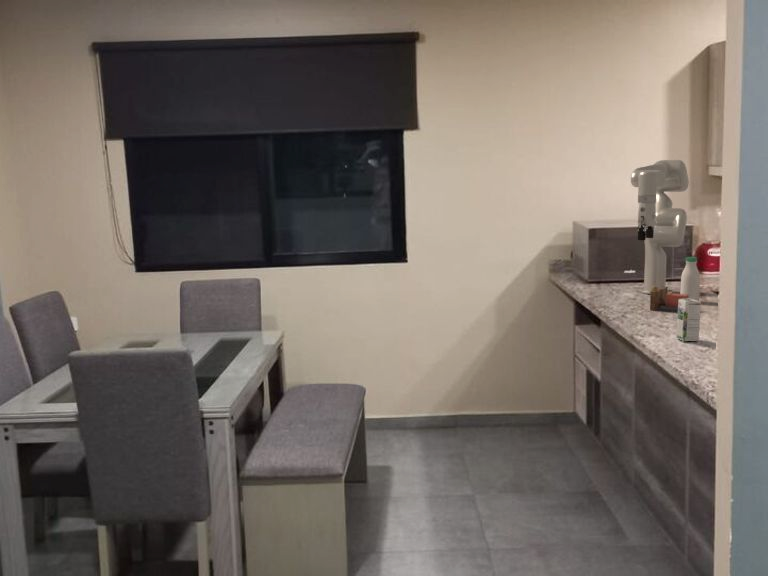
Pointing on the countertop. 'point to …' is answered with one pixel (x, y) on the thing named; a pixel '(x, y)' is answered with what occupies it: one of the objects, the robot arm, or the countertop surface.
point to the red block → (674, 299)
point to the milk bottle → (690, 279)
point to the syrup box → (688, 319)
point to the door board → (657, 297)
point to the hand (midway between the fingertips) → (645, 239)
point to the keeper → (667, 308)
